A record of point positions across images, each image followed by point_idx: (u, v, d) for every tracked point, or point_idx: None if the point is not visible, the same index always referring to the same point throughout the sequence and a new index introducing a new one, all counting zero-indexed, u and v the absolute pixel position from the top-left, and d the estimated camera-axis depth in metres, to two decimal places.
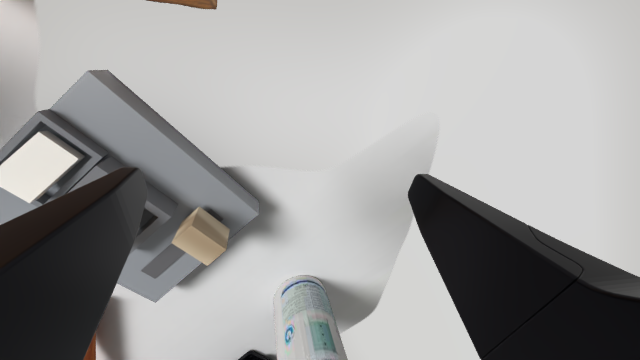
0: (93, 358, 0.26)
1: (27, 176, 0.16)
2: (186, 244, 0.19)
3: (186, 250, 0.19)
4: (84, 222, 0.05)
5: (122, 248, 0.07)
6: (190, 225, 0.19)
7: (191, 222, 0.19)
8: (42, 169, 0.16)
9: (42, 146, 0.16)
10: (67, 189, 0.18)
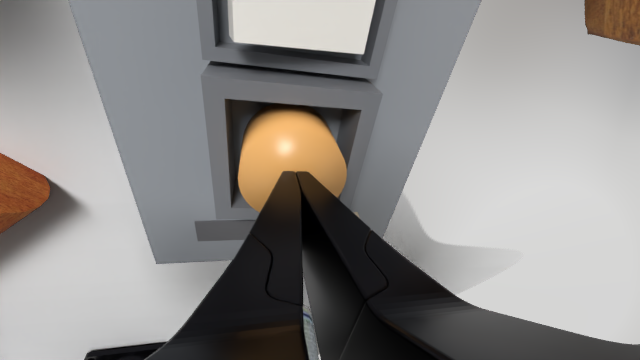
0: None
1: (287, 0, 0.07)
2: None
3: None
4: None
5: None
6: None
7: None
8: (316, 15, 0.07)
9: None
10: (279, 66, 0.09)
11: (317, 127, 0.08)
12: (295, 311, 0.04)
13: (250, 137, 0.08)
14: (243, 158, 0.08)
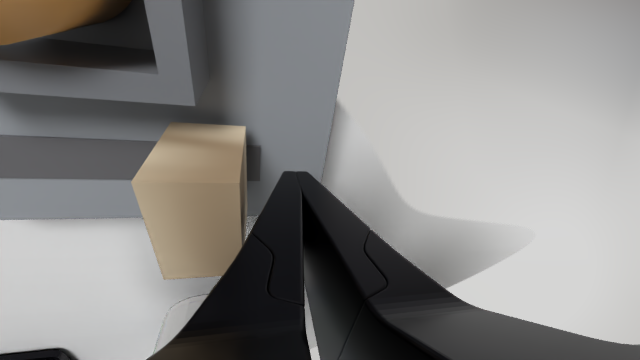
0: None
1: None
2: (169, 212, 0.06)
3: (152, 224, 0.06)
4: None
5: None
6: (232, 179, 0.06)
7: (232, 167, 0.06)
8: None
9: None
10: None
11: None
12: (296, 311, 0.04)
13: None
14: None
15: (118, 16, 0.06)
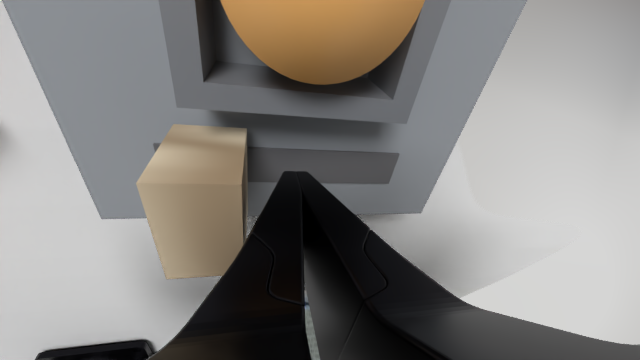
0: None
1: None
2: (173, 212, 0.06)
3: (156, 225, 0.06)
4: None
5: None
6: (235, 180, 0.06)
7: (235, 169, 0.06)
8: None
9: None
10: None
11: None
12: (297, 311, 0.04)
13: None
14: None
15: None
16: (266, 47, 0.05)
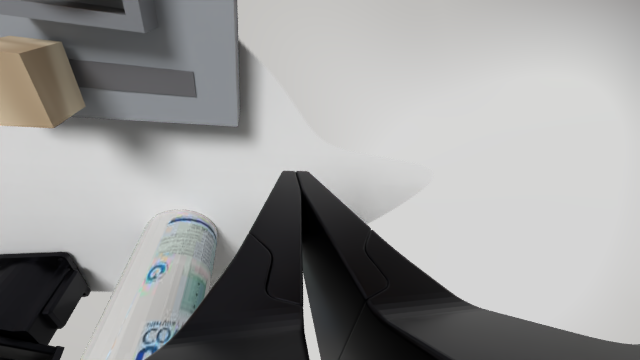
0: None
1: None
2: None
3: None
4: None
5: None
6: (17, 52, 0.10)
7: (24, 50, 0.11)
8: None
9: None
10: None
11: None
12: (295, 311, 0.04)
13: None
14: None
15: None
16: None
